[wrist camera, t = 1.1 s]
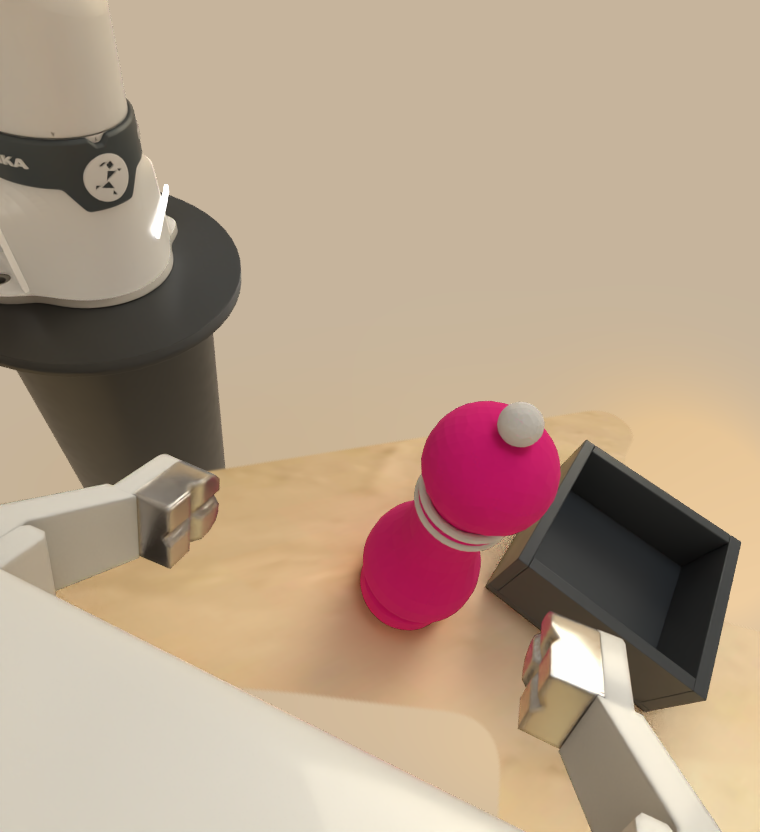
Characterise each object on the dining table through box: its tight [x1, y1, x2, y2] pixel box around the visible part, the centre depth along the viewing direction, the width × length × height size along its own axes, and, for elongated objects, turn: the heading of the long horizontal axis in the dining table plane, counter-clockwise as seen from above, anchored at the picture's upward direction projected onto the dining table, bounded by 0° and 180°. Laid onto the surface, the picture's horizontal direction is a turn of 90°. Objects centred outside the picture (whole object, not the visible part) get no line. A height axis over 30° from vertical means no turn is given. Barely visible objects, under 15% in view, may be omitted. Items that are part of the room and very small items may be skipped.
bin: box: [486, 440, 741, 712], centre depth 35 cm, size 13×13×6 cm
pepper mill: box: [360, 401, 561, 630], centre depth 26 cm, size 7×7×20 cm
